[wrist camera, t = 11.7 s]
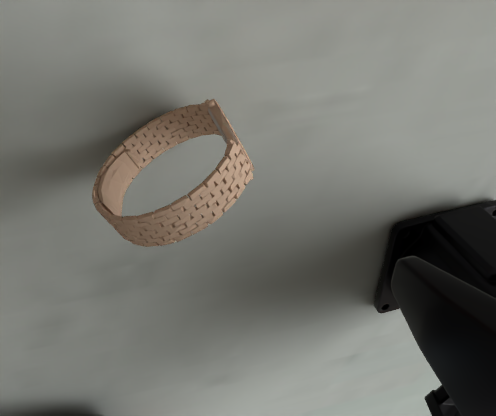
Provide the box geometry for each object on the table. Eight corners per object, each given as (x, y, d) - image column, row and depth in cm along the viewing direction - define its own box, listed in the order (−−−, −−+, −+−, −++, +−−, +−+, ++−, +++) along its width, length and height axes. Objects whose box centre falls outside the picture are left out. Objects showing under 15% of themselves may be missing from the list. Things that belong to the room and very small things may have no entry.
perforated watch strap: (230, 128, 17) (278, 207, 13) (119, 193, 17) (135, 289, 13) (196, 67, 15) (239, 138, 11) (73, 140, 15) (76, 233, 12)
